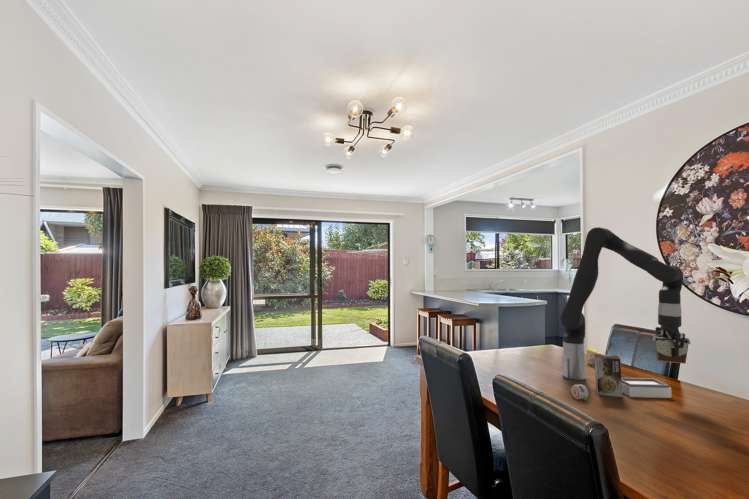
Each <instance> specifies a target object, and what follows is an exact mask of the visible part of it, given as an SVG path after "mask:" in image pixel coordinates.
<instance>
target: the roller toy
mask: <svg viewBox="0 0 749 499" xmlns="http://www.w3.org/2000/svg"><path fill="white" fill-rule="evenodd" d="M570 391H571V395H572V396H573V398H574V399H575V400H583V401H587V400H588V397H589V390H588V388H587V387H586V386H585V385H584V384H574V385H572V386H571V388H570Z"/></svg>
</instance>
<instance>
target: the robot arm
mask: <svg viewBox="0 0 749 499" xmlns="http://www.w3.org/2000/svg"><path fill="white" fill-rule="evenodd" d="M602 249H606V250H609V251H611V252H613V253H616V254H617V255H619V256H621V257H622V258H624V259H625V260H626V261H627V262H628V263H630V264H632V265H633V266H635V267H638V268H639V269H641V270H643V271H644V272H646V273H648V274H649V275H651V277H653V278H655V280H657V281H660V282H661V283H662V286H661V288H660V289H659V291H658V305H657V324H658V325H659V326H660V327H659V326H656V327H655V328H654V329H655V335H658V334H661V335H660V336H661V337H665V338H668V339H669V342H670V343H671V346H672V348H671V356H672V357H674V358H678V357H679V348H683V347H684V340H685V338H686V334H685V333H683V332H680V330H679V328H680V327H682V304H681V303H682V301H681V296H682V295H681V291H682V287H683V284H684V273H683V271H682V269H681V267H679V266H677V265H669V264H666V263H663V261H660V260H659V258H657V257H656V256H654V255H652V254H650V253H649V252H647V251H645V250H643V249H641V248H638V247H637V246H634V245H632V244H630V243H628V242H627V241H626V240H623V239H622V238H620V237H619V236H618V235H617V234H615V233H614V232H612V231H611V230H610V229H608V228H605V227H599V226H596V227H592V228H591V229H590V230H589V231H588V232H587V234H586V237H585V241H584V247H583V251H582V255H581V257H580V260H579V264H578V268H577V269H576V273H575V275H574V279H573V281H572V286H571V289H570V292H569V295H568V298H567V301H566V304H565V306H564V308H563V309H562V313H561V314H560V323H561V326H562V327H563V328H564V333H563V336H562V347H563V348H562V350H563V351H562V352H563V354H562V356H561V373H562V374H561V375H562V376H563V377H564V378H566V379H569V380H577V381H583V380H585V379H586V365H585V359H586V358H585V337H586V318H585V317H586V316H585V315H584V313H583V309H584V306H585V303H586V302H587V301H588V299H589V298H590V296H591V294H592V293H593V291H594V289H595V287H596V284H597V282H598V281H597V280H598V278H599V258H600V254H601V251H602ZM672 339H676V340H672ZM674 342H675V345H674ZM679 342H681V343H680V344H679Z"/></svg>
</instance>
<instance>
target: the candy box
mask: <svg viewBox="0 0 749 499" xmlns="http://www.w3.org/2000/svg"><path fill="white" fill-rule="evenodd" d="M594 354H603V355H607V354H605V353H602V352H600V351H599V352H598V351H597V350H593V349H590V348H587V349H586V357H587V358H586V359H587V360H586V361H587V362H586V363H587V364H588V365H590V366H593V367H595V356H594Z"/></svg>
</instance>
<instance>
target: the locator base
mask: <svg viewBox="0 0 749 499" xmlns="http://www.w3.org/2000/svg"><path fill="white" fill-rule="evenodd" d="M621 381H622V394H624V395H626V396H627V397H629V398H650V399H651V398H652V399H653V398H654V399H655V398H660V399H662V398H663V399H672V387H670V385H669V384H667V383H665V382H663V381H661V380H658V379H657V378H653V377H651V378H648V377H621Z"/></svg>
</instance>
